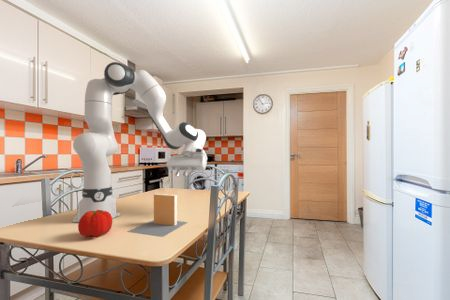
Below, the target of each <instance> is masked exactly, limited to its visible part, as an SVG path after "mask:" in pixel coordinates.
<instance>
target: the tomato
mask: <svg viewBox="0 0 450 300" xmlns="http://www.w3.org/2000/svg"><path fill="white" fill-rule="evenodd" d="M112 227H113V218H112V216H111V214H110V213H109V212H107V211H102V210H96V211H88V212H86V213H85V214H84V215H83V216H82V217H81V219H80V220H79V222H78V225H77V228H78V229H77V230H78V232H79V234H80V235H81V236H83V237H84V238H91V237H94V238H95V237H96V238H98V237H100V236H104V235H106V234H107V233H108V232H110V230H111V229H112Z"/></svg>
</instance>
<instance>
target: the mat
mask: <svg viewBox="0 0 450 300" xmlns="http://www.w3.org/2000/svg"><path fill="white" fill-rule="evenodd" d="M187 223H189V222H188V221H181V220H180V221H179V220H177V225H175V226H173V225H164V224H156V223H154V219H153V220H150V221H148V222H146V223H144V224H142V225H139V226H136V227H135V228H132V229H129V230H128V231H126V232H127V233H132V234H140V235H147V236H154V237H160V238H163V237H166V236H167V235H168V234H170V233H172V232H174V231H175V230H178V229H180V227H182V226H184V225H186V224H187Z"/></svg>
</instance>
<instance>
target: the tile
mask: <svg viewBox="0 0 450 300" xmlns="http://www.w3.org/2000/svg"><path fill="white" fill-rule="evenodd" d="M153 220H154V223H156V224H164V225H173V226H175V225H177V221H178V195H177V194H167V193H166V194H165V193H154V194H153Z"/></svg>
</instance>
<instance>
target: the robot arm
mask: <svg viewBox="0 0 450 300" xmlns="http://www.w3.org/2000/svg"><path fill="white" fill-rule="evenodd" d="M103 75H104V77H103V78H93V79H91V80H89V81H88V82H87V84H86V88H85V93H84V116H83V117H84V121H85V123H86V124H87V127H88V130H89V132H84V133H80V134H78V135H77V136H75V138H74V140H73V142H72V147H73V150H74V152H75V153H76V154H77V155H78V157H79V160H80V163H81V167H82V172H83V173H82V174H83V188H82V191H81V194H82V195H81V197H82V198H81V199H80V201H79V202H78V203H77V205H76V210H77V212H76V215H75V216H74V218H73V219H72V223H79V220H80V219H81V217H82V216H83V215H84V214H85V213H86V212H88V211H96V210H102V211H107V212H109V213H110V214H111V216H112V219H114V218H116V217H119V216H121V213H120V212H118V211H117V205H116V203H117V201H116V198H115V197H113V187H112V169H111V168H110V167H109V164H108V163H109V162H108V160H107V157H110V156H112V155H114V154H116V152H118V148H119V143H118V141H117V139H116V136H115V131H114V125H113V96H117V95H122V94H123V95H124V94H126V93H128V92H129V91H130V90H133V91H134V92H136V93H137V94H138V96H139V97H140V98H141V100H142V101H143V103H144V105H145V106H146V108H147V112H148V115H149V117H150V119H151V121H152V122H153V123H154V126H155V127H156V129H157V130H158V132H159V133H160V134H161V137H162V138H163V141H164V144H165V145H166V146H167V147H168V148H169V149H172V150H179V149H180V148H182V146H184V148H183V149H182V151H181V153H180V154H179V153H176V154H174V155H172V156H171V157H170V158H169V159H168V160H167V161H166V163H165V165H166V167H167V169H168V170H170V171H175V173H174V176H175V177H179V176H180V175H181V173H180V171H183V174H182V175H183V177H184V178H185V177H188V176H189V174H190V173H192V171H204V170H205V169H206V167H207V164H208V156H207V153H206V151H205V150H204V147H205V145H206V141H207V134H206V133H205V131H204V130H202V129H199V128H195V127H194V126H193V125H192V124H190V123H189V122H180V123H179V124H178V125H176V126H175V127H174V128H173V129H172V128H171V127H170V125H169V123H168V122H167V120H166V118H165V117H164V108H165V105H166V102H167V94H166V92H165V90H164V89H163V88H162V86H161V84H159V82H158V81H157V80H156V79H155V78H154V77H153V76H152V75H151V74H150V73H149V72H148V71H147V70H145V69H139V70H135V71H134V69H132V68H131V67H128V66H127V65H124V64H123V63H120V62H116V61H115V62H110V63H108V64H107V65H106V67H105V68H104V71H103Z"/></svg>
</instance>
